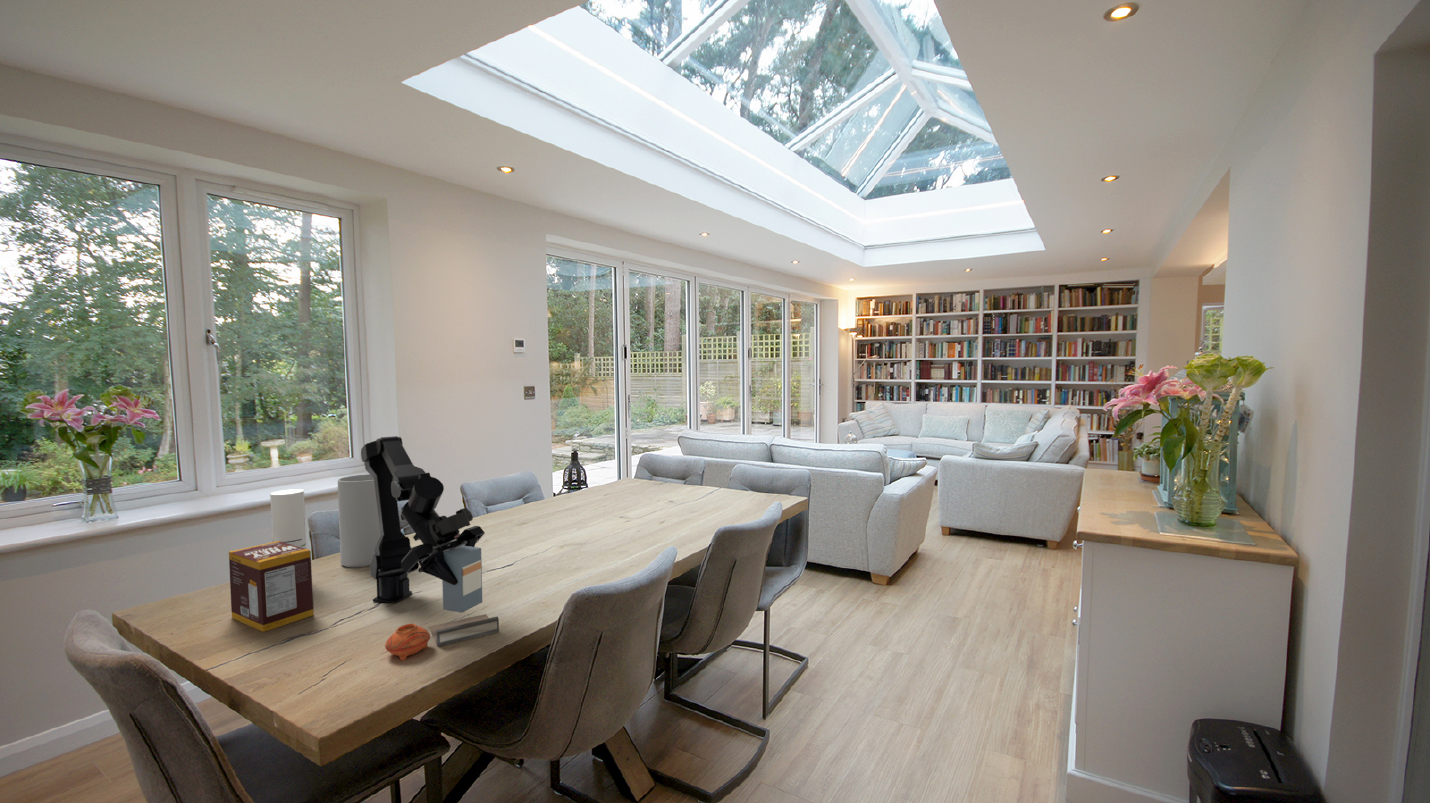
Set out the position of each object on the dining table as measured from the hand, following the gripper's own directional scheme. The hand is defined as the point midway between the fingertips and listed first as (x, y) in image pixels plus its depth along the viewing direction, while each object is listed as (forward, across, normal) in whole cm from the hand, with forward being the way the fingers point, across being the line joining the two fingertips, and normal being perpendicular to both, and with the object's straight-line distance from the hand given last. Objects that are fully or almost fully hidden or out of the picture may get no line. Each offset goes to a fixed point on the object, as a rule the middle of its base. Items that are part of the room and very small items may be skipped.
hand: (467, 578), depth 127 cm
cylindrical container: (-37, +7, +55) cm, 67 cm away
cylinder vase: (-37, +29, +55) cm, 72 cm away
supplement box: (-26, -8, +44) cm, 52 cm away
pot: (+6, -12, +12) cm, 18 cm away
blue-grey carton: (+3, 0, +5) cm, 6 cm away
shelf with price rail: (+8, 0, +10) cm, 12 cm away
